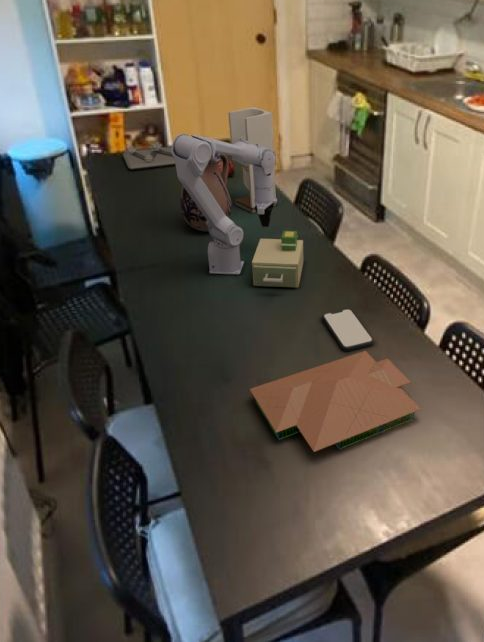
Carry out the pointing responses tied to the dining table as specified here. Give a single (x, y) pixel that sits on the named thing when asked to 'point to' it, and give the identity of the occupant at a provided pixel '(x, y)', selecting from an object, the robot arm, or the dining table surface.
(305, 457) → the dining table surface
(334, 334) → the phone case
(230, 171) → the beverage can
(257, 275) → the drawer
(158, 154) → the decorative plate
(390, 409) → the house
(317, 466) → the dining table surface
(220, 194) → the ceramic pitcher
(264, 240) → the cabinet
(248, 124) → the gray hollow column
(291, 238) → the green box
